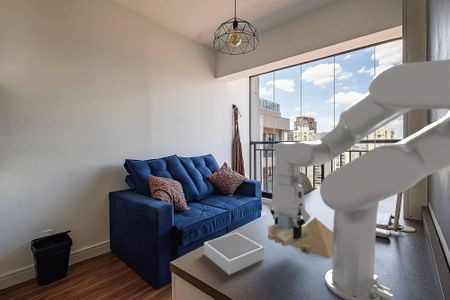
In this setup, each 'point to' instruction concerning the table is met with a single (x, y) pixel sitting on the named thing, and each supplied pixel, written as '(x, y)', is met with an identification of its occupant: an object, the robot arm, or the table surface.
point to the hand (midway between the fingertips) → (287, 233)
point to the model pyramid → (317, 239)
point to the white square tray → (233, 252)
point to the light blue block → (285, 221)
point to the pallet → (284, 234)
